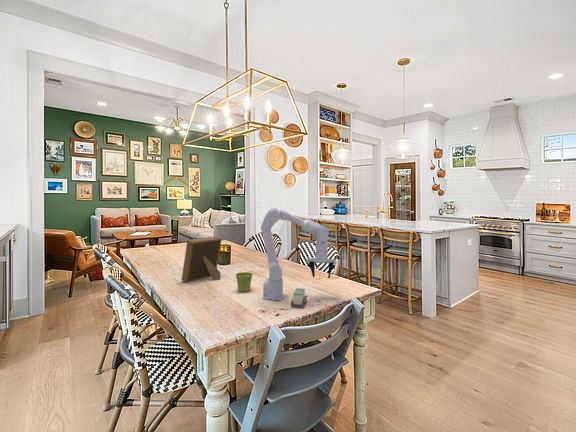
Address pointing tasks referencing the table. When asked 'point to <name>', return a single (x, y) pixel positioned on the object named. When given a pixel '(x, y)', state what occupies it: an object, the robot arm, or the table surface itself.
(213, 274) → the photo frame
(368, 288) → the table surface
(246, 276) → the plant pot
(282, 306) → the table surface
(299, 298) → the teal rectangular brick
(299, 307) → the grey rectangular tray
